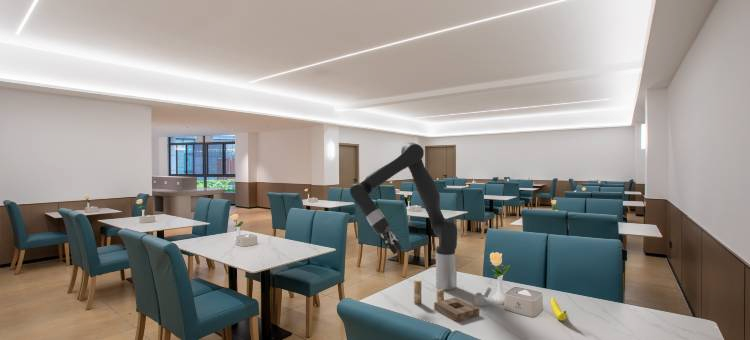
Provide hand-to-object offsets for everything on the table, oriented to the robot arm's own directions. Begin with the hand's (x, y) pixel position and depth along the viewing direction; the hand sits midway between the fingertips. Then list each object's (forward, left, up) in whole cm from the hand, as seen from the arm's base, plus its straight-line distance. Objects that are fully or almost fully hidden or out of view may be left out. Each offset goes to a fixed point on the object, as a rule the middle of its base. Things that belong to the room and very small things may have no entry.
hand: (398, 251), depth 167 cm
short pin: (-17, +9, -22) cm, 29 cm away
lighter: (-29, +23, -23) cm, 43 cm away
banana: (-46, +47, -23) cm, 69 cm away
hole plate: (-14, +23, -22) cm, 35 cm away
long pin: (-6, +7, -22) cm, 24 cm away
